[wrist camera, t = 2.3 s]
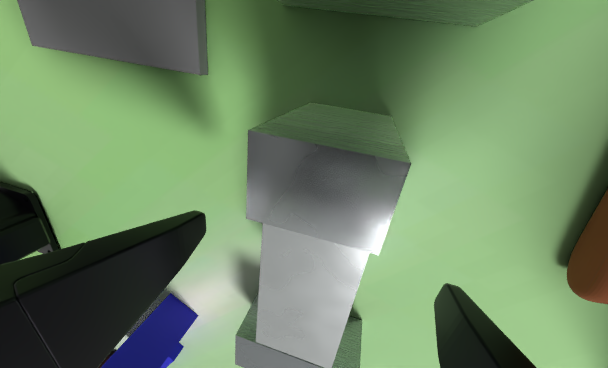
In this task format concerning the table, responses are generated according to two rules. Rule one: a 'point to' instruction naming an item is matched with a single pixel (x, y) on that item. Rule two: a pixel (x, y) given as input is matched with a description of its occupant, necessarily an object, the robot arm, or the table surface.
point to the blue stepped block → (155, 338)
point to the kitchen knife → (591, 258)
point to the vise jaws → (390, 3)
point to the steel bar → (319, 219)
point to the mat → (123, 30)
